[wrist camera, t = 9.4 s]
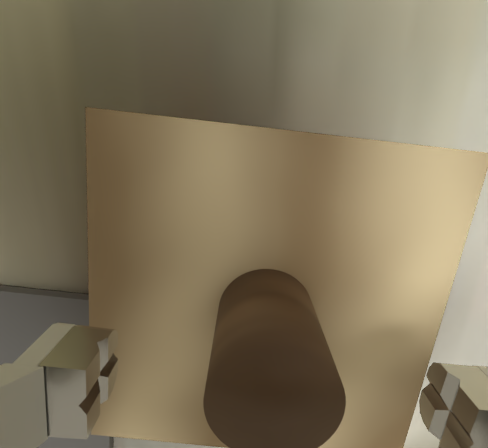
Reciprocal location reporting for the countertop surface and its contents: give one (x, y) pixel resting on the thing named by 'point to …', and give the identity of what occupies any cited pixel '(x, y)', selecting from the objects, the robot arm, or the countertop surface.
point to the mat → (33, 326)
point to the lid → (269, 278)
